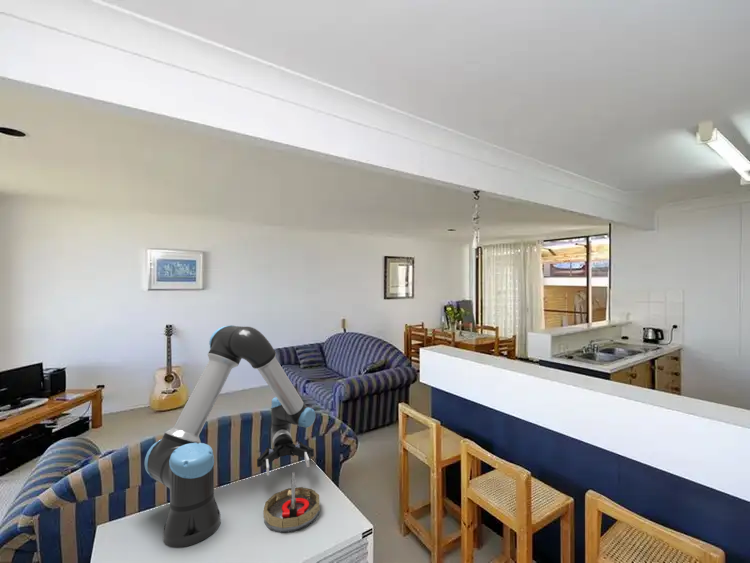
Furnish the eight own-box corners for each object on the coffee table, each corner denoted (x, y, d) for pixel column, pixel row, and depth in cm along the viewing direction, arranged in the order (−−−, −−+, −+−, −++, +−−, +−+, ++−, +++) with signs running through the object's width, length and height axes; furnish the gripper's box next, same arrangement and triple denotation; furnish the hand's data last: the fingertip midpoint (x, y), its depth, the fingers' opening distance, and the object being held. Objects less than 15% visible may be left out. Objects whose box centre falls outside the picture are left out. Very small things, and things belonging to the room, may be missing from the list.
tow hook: (284, 502, 112) (278, 519, 103) (284, 461, 113) (278, 474, 104) (310, 500, 112) (306, 517, 103) (310, 460, 114) (306, 473, 104)
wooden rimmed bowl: (252, 526, 102) (252, 514, 102) (285, 494, 118) (285, 484, 118) (301, 537, 97) (301, 525, 97) (328, 503, 113) (328, 492, 113)
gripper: (313, 446, 141) (324, 471, 121) (250, 458, 132) (250, 486, 113) (313, 428, 141) (324, 449, 121) (249, 438, 133) (249, 463, 113)
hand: (288, 467), depth 117 cm, fingers open, 13 cm apart
